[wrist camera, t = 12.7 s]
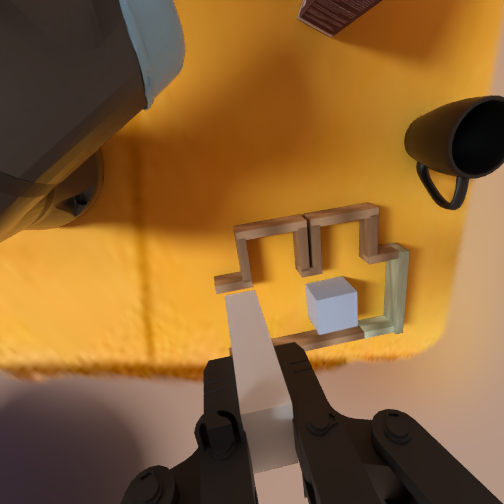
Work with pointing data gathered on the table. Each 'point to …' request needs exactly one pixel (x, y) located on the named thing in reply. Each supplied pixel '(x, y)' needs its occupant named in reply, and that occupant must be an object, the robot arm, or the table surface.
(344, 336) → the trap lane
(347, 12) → the supplement box
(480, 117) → the mug
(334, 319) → the block
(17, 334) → the table surface
